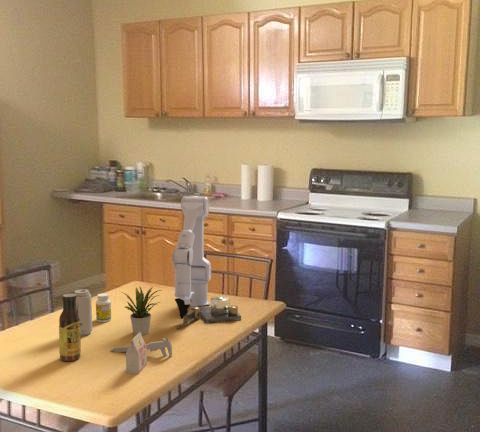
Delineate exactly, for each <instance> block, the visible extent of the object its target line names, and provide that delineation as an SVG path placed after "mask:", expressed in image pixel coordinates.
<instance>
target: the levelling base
mask: <svg viewBox="0 0 480 432" xmlns="http://www.w3.org/2000/svg"><path fill="white" fill-rule="evenodd" d="M230 303H231V300H230V297H228V296H224V295H217V296H216V295H215V296H212V297H210V306H200V316H201V318H202V319H203V320H204V322H205V323H206V324H213V323H222V322H223V323H224V322H231V321H239V320H240V321H241V320H242V315H241V313H239V306H238V305H233V304H232V305H231V304H230ZM183 326H184V325H179V326H177V327H176V329H177V330H179V329H181V328H183Z"/></svg>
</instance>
